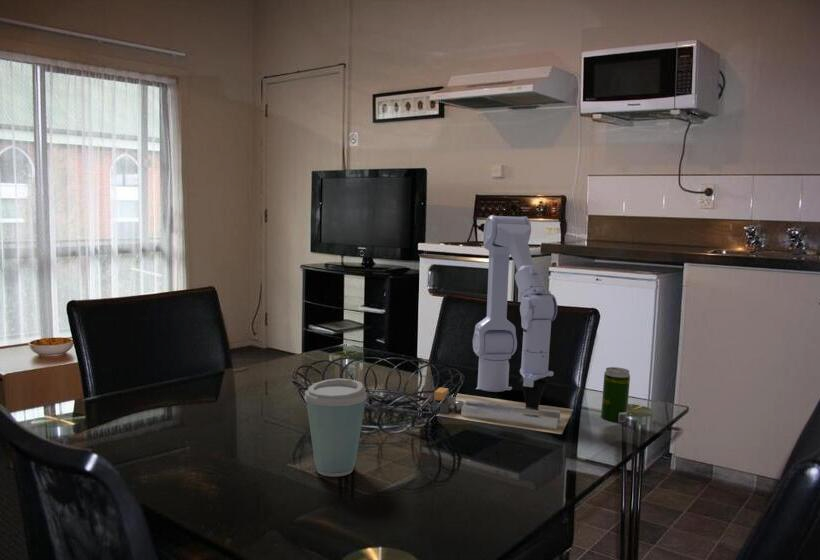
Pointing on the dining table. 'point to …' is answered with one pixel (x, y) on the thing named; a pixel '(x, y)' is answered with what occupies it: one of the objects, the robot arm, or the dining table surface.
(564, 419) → the board
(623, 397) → the beer can
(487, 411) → the tongs frame
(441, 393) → the block
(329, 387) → the disposable coffee cup
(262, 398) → the dining table surface
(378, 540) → the dining table surface
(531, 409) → the bar
